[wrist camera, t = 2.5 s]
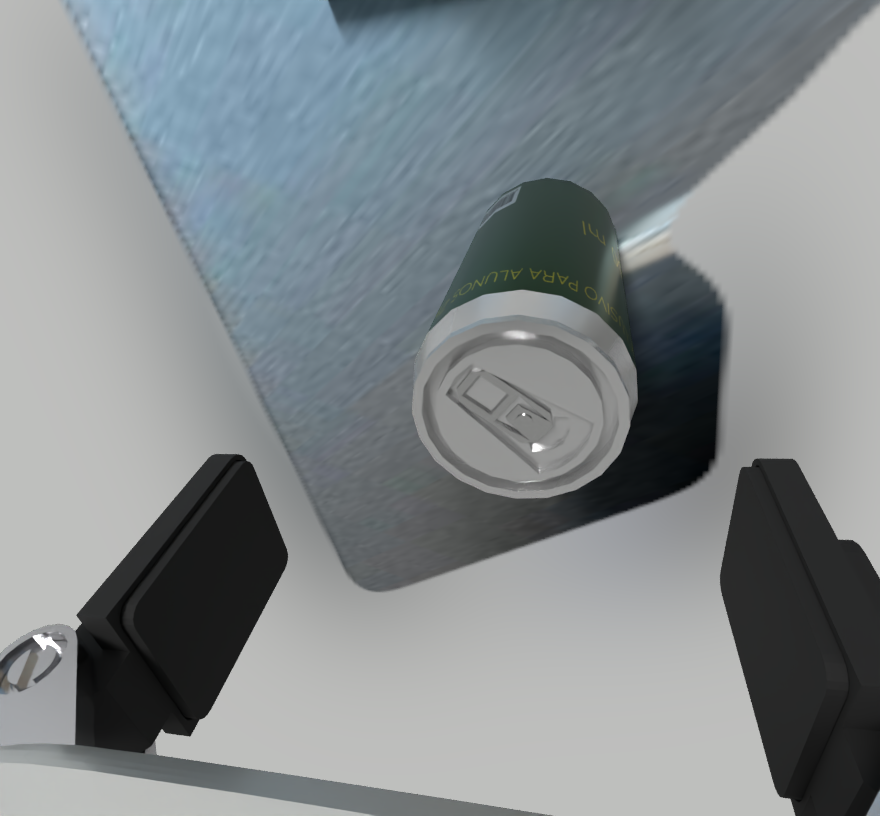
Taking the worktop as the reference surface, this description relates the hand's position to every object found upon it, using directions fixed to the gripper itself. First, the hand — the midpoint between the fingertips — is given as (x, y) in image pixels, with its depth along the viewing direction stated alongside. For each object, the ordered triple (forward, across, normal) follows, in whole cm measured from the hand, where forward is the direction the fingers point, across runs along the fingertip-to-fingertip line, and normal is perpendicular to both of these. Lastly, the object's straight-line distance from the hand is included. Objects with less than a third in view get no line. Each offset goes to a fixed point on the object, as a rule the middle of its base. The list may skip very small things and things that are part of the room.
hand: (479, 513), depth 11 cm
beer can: (+15, -1, -1) cm, 15 cm away
